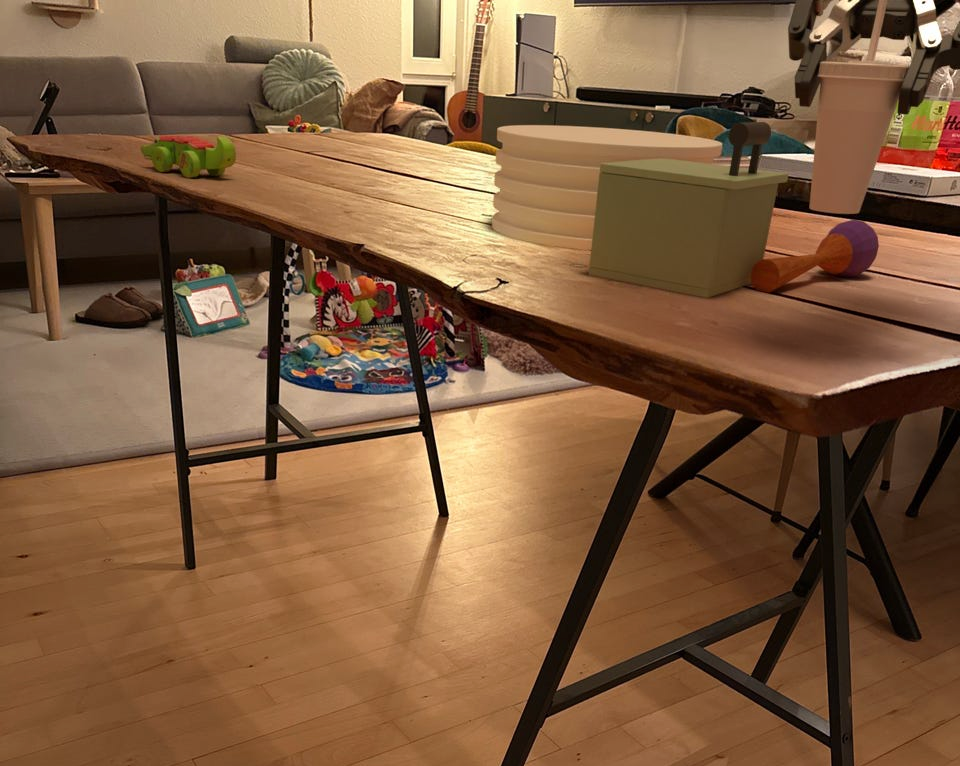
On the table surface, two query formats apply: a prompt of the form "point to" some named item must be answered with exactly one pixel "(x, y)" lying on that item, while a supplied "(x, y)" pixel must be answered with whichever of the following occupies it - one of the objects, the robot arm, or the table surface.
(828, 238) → the kendama
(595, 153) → the plate stack
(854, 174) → the smoothie
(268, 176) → the table surface
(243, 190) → the table surface
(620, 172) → the compartment lid
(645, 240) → the compartment
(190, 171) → the toy crocodile
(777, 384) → the table surface
